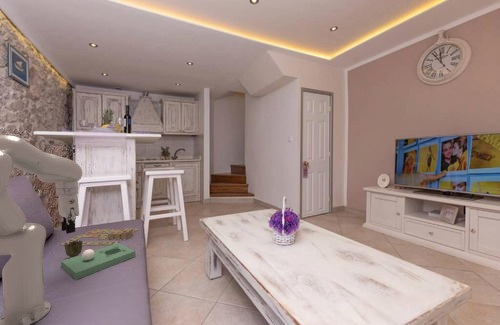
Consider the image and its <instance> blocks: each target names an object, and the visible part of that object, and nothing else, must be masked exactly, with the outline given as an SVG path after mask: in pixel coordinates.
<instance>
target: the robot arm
mask: <svg viewBox="0 0 500 325" xmlns="http://www.w3.org/2000/svg"><path fill="white" fill-rule="evenodd" d="M13 168H15V169H17V170H20V171H22V172H25V173H28V174H34V175H36V177H37V179H38V180H39V181H41V182H42V183H46V184H47V183H48V184H53V183H55V194H56V197H58V206H57V207H58V215H59V216H61V219H60V220H61V221H60V223H61V231H62V232H64V231H66V232H65V233H66V234H67V235H68V234H72V233H75V232H76V219H77V217H79V215H80V208H79V199H78V195H79V185H78V184H79V181H80V180H81V179H82V177H83V169H82V167H81V166H80V165H79V164H78V163H77V162H75V161H74V160H72V159H70V158H68V157H63V156H61V155H60V156H59V155H56V154H53V153H49V152H44V151H43V150H41V149H40V148H37V147H36V146H34V145H33V144H32V143H30V142H28V141H26V140H25V139H24V138H21V137H19V136H15V135H8V134H0V256H7V255H8V256H11V257H10V258H9V260H8V261H7V262H6V263H5V264H4V265H3V267H2V270H1V277H2V297H3V298H2V299H3V316H1V317H0V325H30V324H31V325H32V324H35V323H36V322H39V320H41V319H43V318H44V317H45V316H46V315H48V314H49V312H50V310H51V306H52V305H51V303H50V302H49V301H47V300H45V276H44V271H45V270H44V251H45V250H44V249H45V244H46V243H45V242H46V239H47V229H46V227H44V225H42V224H40V223H37V222H36V223H35V222H34V223H33V222H27V218H26V215H25V213H24V211H23V210H22V208H20V206H19V205H18V204H17V202H15V200H13V198H12V197H11V196H10V194H9V192H8V184H9V181H10V177H11V174H12V171H13Z"/></svg>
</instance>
